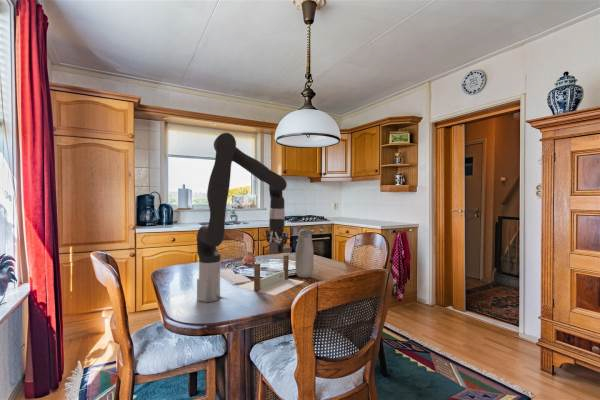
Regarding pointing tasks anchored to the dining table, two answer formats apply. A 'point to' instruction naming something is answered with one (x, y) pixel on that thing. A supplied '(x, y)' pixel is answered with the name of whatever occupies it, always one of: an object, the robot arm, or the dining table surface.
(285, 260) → the gate frame
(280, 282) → the floor mat
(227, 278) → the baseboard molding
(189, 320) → the dining table surface
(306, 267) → the grey bottle
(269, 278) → the gate door
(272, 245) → the doorstop
